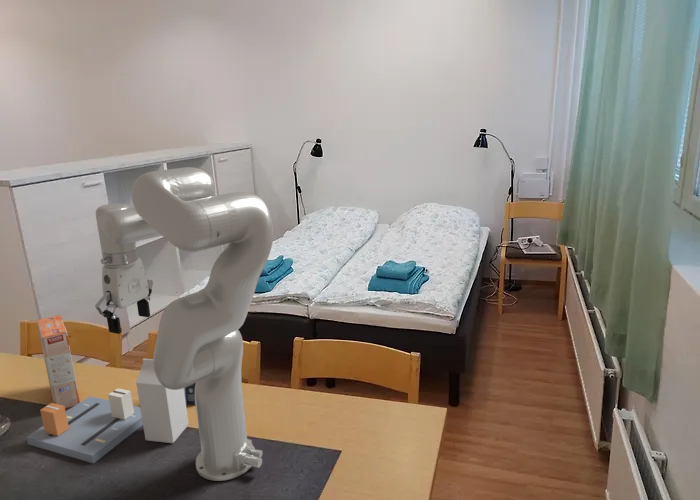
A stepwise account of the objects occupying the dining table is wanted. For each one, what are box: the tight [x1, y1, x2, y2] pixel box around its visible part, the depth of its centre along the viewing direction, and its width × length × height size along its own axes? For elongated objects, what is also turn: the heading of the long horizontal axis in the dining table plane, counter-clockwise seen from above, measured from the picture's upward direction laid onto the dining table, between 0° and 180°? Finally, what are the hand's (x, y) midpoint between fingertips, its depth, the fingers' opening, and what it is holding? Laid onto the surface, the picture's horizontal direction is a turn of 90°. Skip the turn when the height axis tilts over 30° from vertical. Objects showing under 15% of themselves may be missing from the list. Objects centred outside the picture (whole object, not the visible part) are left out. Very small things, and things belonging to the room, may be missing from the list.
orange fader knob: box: [39, 402, 69, 436], centre depth 119 cm, size 4×3×6 cm
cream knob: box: [107, 387, 134, 420], centre depth 124 cm, size 4×3×6 cm
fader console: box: [25, 395, 143, 464], centre depth 123 cm, size 20×18×2 cm
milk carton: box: [135, 358, 189, 444], centre depth 119 cm, size 7×7×19 cm
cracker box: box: [36, 314, 81, 410], centre depth 135 cm, size 14×6×21 cm, turn 34°
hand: (130, 324), depth 125 cm, fingers open, 9 cm apart
